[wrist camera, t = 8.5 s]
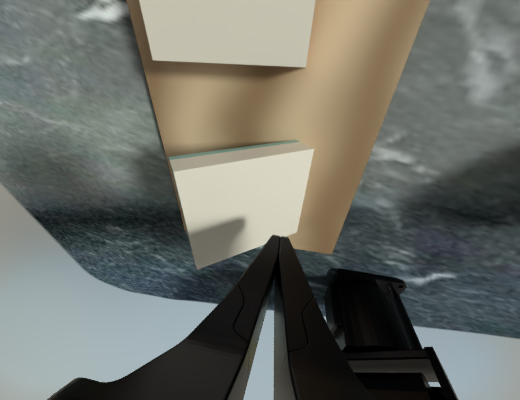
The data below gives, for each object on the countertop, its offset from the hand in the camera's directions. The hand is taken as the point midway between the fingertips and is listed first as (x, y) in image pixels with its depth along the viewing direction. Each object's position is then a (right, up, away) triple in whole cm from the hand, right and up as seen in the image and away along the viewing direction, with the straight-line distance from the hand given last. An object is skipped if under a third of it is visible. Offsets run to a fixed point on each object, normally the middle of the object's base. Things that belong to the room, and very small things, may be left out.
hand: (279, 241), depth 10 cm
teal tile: (+2, +3, +4) cm, 6 cm away
